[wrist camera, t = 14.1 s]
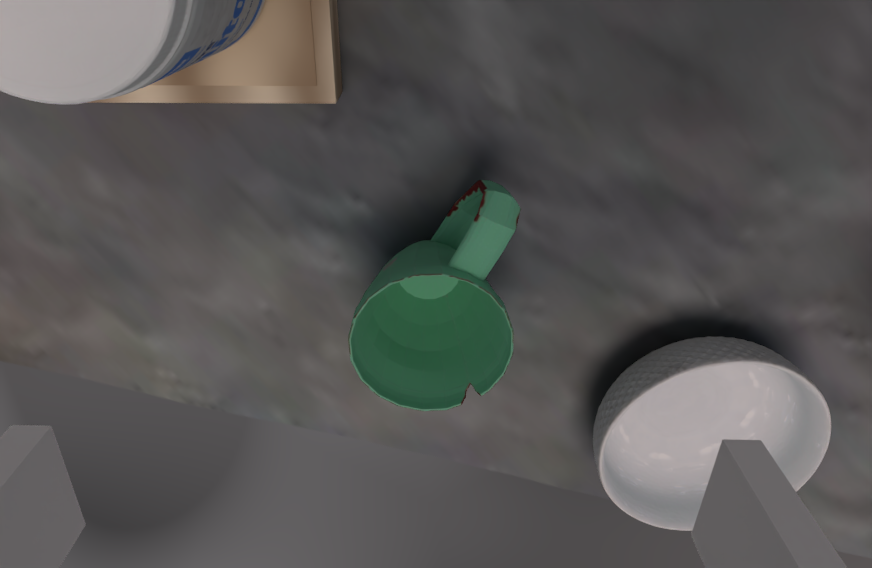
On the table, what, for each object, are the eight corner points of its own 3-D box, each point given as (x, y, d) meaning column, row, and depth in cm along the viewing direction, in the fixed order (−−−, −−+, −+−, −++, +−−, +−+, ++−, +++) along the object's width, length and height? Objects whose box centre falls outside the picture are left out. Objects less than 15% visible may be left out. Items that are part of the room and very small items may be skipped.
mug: (459, 343, 48) (468, 431, 39) (341, 298, 46) (323, 381, 37) (553, 180, 42) (589, 241, 33) (422, 120, 40) (424, 168, 31)
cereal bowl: (789, 289, 47) (846, 341, 40) (776, 448, 54) (823, 512, 48) (567, 331, 48) (590, 388, 42) (586, 481, 56) (608, 547, 49)
